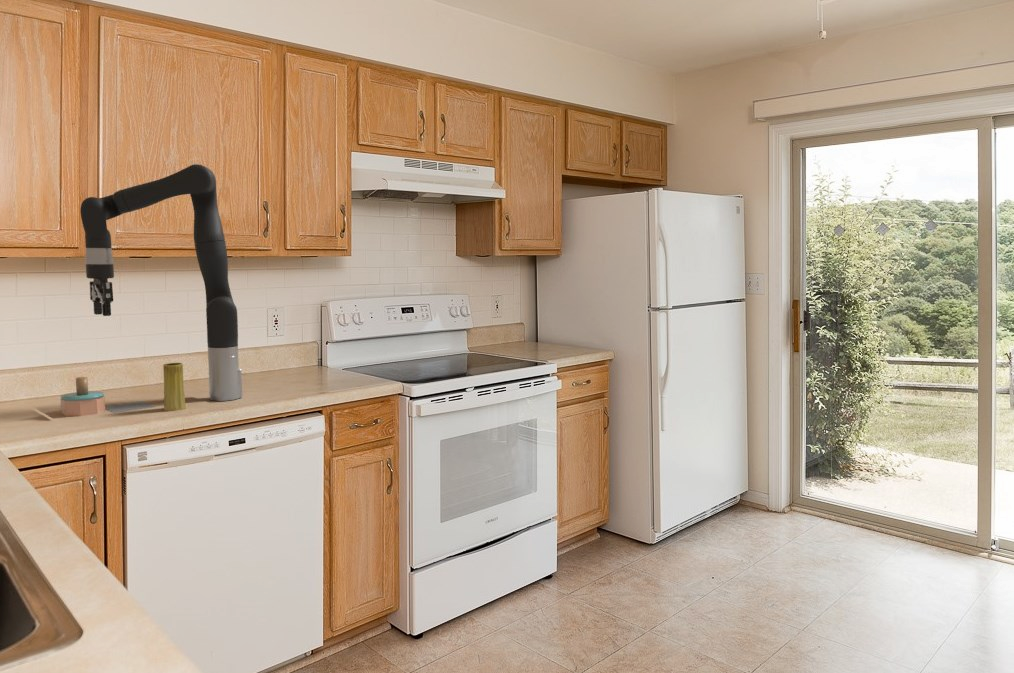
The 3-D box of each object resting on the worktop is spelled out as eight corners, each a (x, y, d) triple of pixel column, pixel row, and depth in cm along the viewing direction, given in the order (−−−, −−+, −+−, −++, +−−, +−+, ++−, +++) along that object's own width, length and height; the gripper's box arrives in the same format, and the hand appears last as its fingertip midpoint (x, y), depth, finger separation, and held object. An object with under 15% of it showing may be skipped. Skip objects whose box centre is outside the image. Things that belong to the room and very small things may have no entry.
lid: (97, 392, 223) (96, 373, 222) (109, 397, 215) (108, 377, 215) (56, 397, 215) (54, 377, 215) (67, 402, 207) (65, 382, 207)
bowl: (97, 408, 223) (96, 392, 223) (108, 414, 216) (107, 397, 215) (58, 413, 216) (57, 397, 215) (68, 419, 208) (67, 402, 208)
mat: (142, 403, 232) (142, 401, 232) (156, 408, 224) (156, 406, 223) (100, 408, 224) (100, 406, 223) (113, 414, 215) (113, 412, 215)
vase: (189, 408, 224) (187, 362, 222) (181, 412, 218) (178, 365, 216) (169, 408, 224) (166, 362, 222) (160, 412, 218) (158, 365, 216)
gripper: (120, 263, 224) (123, 315, 226) (105, 262, 234) (108, 313, 236) (93, 263, 219) (96, 317, 221) (79, 262, 229) (82, 314, 231)
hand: (102, 315), depth 228 cm, fingers open, 8 cm apart
